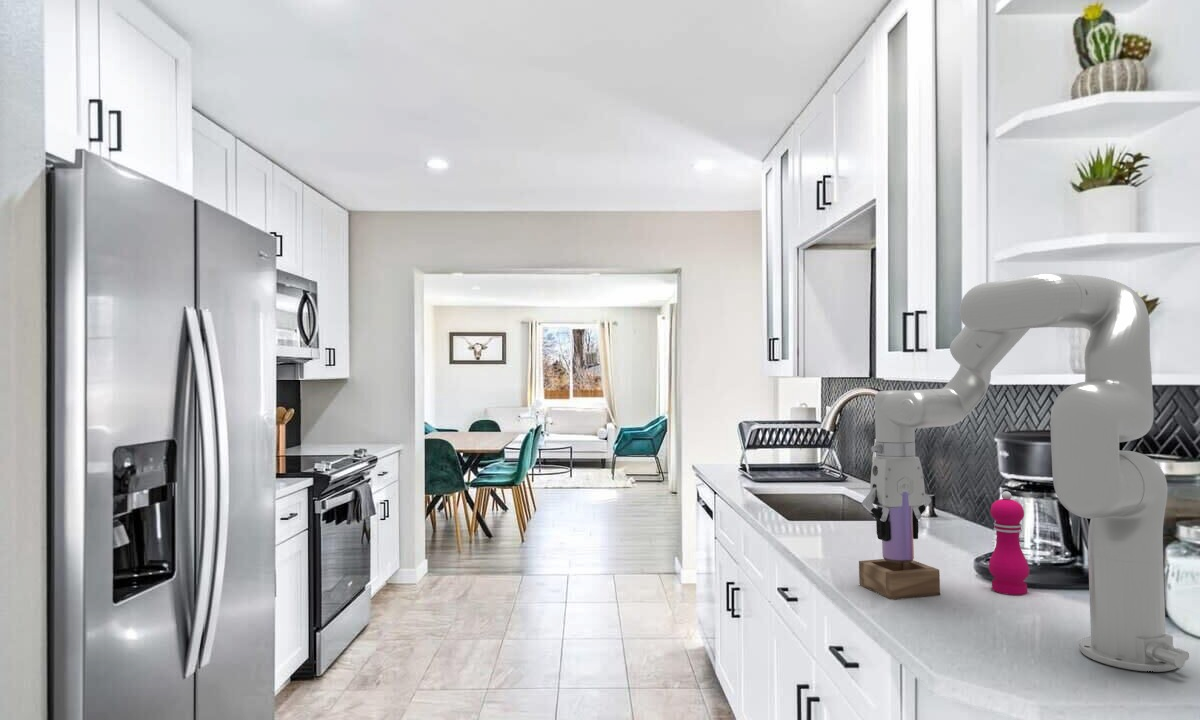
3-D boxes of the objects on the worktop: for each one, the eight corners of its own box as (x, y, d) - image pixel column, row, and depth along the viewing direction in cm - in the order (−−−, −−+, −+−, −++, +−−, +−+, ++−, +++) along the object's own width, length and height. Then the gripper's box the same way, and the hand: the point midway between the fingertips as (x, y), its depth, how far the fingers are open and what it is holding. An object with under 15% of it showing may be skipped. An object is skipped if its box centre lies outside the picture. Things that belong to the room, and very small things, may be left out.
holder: (940, 594, 150) (939, 569, 151) (891, 599, 148) (890, 573, 148) (905, 580, 161) (904, 557, 161) (859, 584, 159) (858, 561, 159)
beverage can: (905, 565, 150) (903, 489, 151) (877, 560, 155) (875, 486, 155) (919, 560, 154) (917, 486, 155) (891, 555, 159) (889, 483, 159)
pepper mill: (1035, 596, 148) (1032, 494, 149) (995, 595, 150) (992, 493, 150) (1022, 586, 155) (1019, 489, 156) (984, 585, 157) (981, 488, 157)
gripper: (868, 453, 149) (871, 545, 149) (944, 450, 154) (946, 539, 153) (847, 450, 157) (849, 538, 156) (920, 447, 161) (922, 532, 160)
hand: (897, 538), depth 155 cm, fingers closed on beverage can, 5 cm apart
